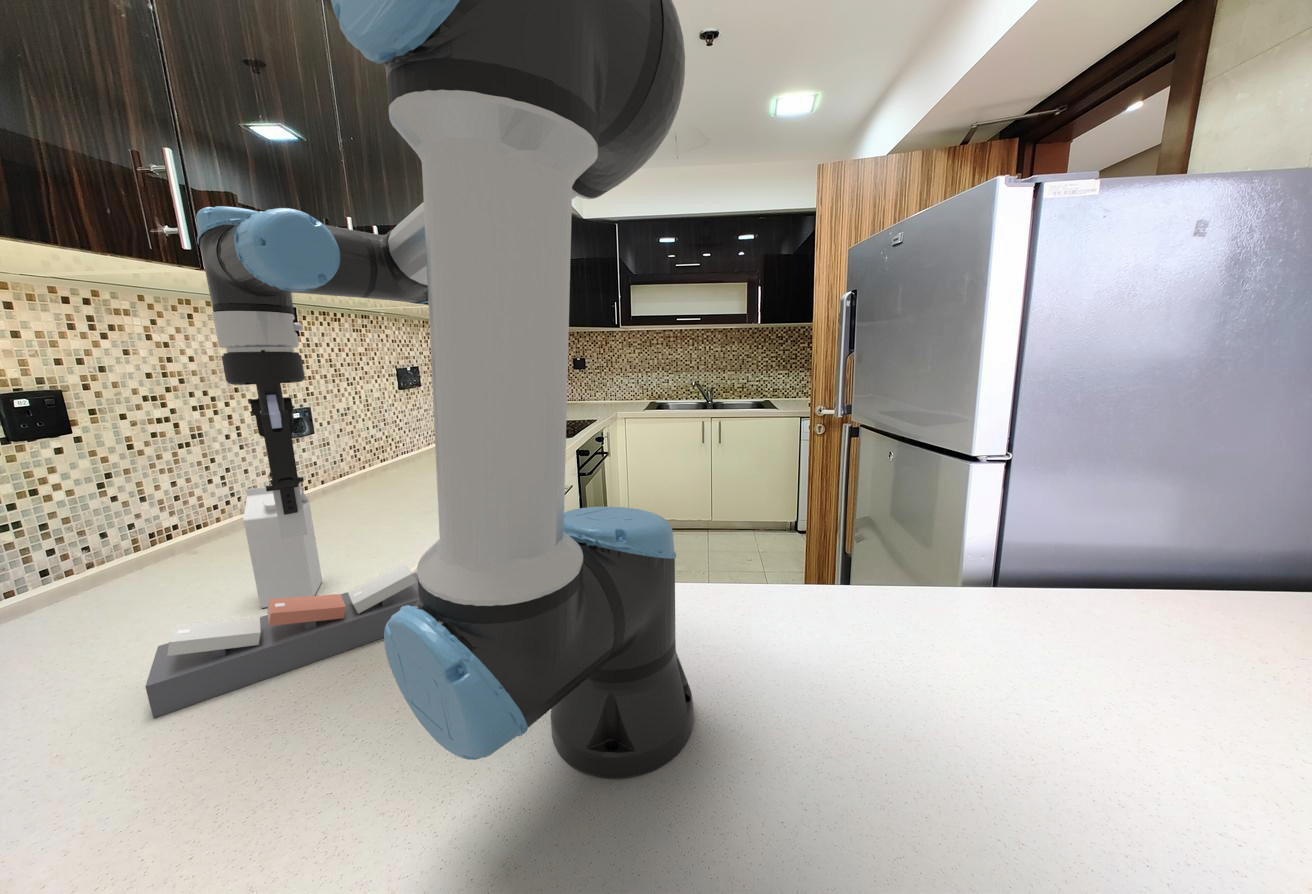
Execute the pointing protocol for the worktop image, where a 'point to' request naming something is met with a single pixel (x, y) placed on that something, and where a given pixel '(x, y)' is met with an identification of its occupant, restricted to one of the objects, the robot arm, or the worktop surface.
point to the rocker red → (305, 609)
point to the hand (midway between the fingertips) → (294, 535)
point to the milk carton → (280, 550)
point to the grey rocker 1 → (214, 635)
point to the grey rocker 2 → (381, 587)
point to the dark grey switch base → (266, 654)
